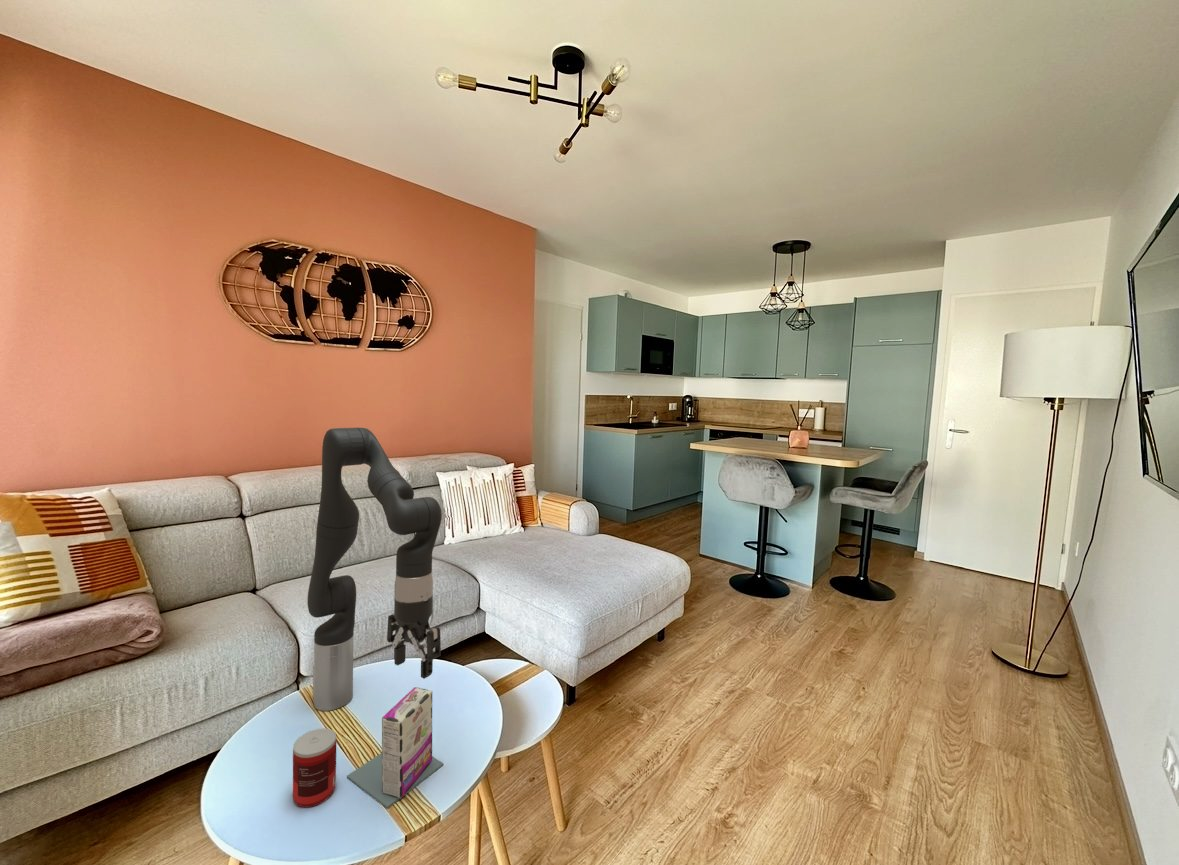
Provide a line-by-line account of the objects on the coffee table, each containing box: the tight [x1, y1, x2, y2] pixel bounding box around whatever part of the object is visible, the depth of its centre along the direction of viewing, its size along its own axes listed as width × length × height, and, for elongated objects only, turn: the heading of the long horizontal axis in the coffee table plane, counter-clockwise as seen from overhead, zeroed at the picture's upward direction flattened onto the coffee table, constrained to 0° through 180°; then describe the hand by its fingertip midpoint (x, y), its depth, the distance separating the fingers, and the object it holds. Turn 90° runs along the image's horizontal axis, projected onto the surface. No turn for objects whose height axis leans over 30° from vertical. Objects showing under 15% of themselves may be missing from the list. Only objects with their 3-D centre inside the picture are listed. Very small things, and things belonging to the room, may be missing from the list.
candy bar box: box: [381, 686, 433, 799], centre depth 101 cm, size 11×5×16 cm, turn 165°
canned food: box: [292, 727, 337, 808], centre depth 96 cm, size 8×8×11 cm
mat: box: [346, 752, 444, 809], centre depth 103 cm, size 14×14×1 cm
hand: (412, 669), depth 99 cm, fingers open, 8 cm apart
